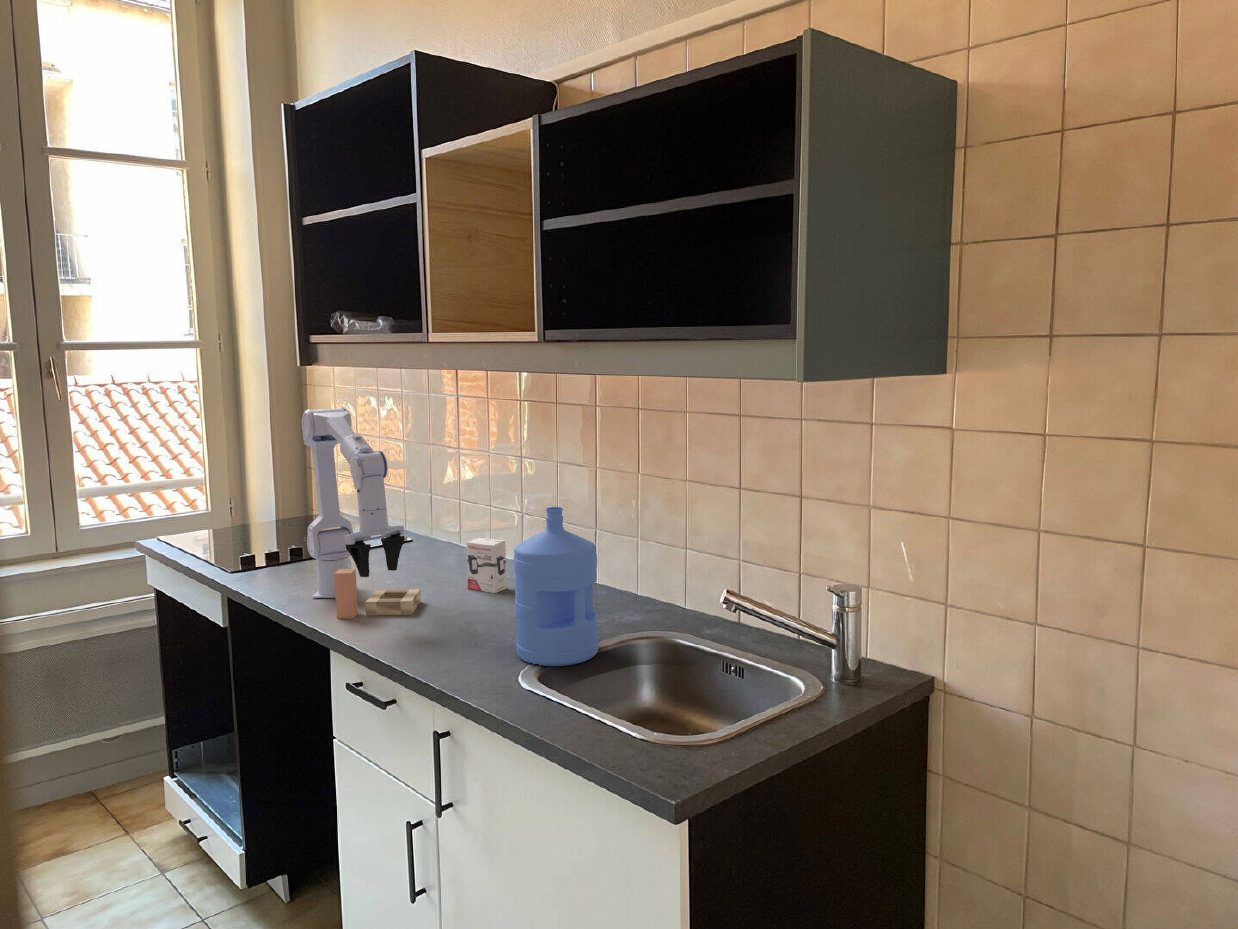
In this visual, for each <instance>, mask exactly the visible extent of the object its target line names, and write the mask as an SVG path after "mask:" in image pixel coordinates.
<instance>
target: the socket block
mask: <svg viewBox="0 0 1238 929" xmlns="http://www.w3.org/2000/svg"><path fill="white" fill-rule="evenodd" d="M421 602H422V596H421V588H402V589H401V588H400V589H399V588H397V589H394V588H393V589H392V588H390V589H376V590H374V592H373V593H372V594H371V595H370V596H369V597H368V598H367V600H366V601H365V603H364V605H365V616H403V615H404V616H405V615H406V616H408V615H410V616H411V615H413V614H414V612H415V611H416V610H417V608H418V607H419V605H420V603H421Z"/></svg>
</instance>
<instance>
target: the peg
mask: <svg viewBox="0 0 1238 929" xmlns="http://www.w3.org/2000/svg"><path fill="white" fill-rule="evenodd" d="M356 569H357V568H352V569H339V570H338V571H337V572H335V573H334V576H335V594H336V598H335V606H336V607H335V608H336V609H335V610H336V619H355V617H356V616H357V615H358V614H359V609H358V608H359V606H358V592H357V591H358V588H357V586H356V585H357V573H356V572H357V570H356Z"/></svg>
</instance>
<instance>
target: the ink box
mask: <svg viewBox="0 0 1238 929" xmlns="http://www.w3.org/2000/svg"><path fill="white" fill-rule="evenodd" d="M506 550H507V549H506V541H505V540H503V539H502V540H501V539H496V538H495V539H493V538H486V537H484V538H483V537H477V538H473V539H472V540H471V539H470V540H468V541H467V542H466V564H467V566H466V568H467V569H466V570H467V575H466V577H467V589H468V590H473V591H479V592H480V591H481V592H485V593H486V592H487V593H493V594H497V593H499V592H501V591H504V590H507V589H508V587H507V586H508V583H507V558H506V557H507V556H506V555H507V553H506Z"/></svg>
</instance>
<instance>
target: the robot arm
mask: <svg viewBox="0 0 1238 929" xmlns="http://www.w3.org/2000/svg"><path fill="white" fill-rule="evenodd" d="M352 424H353V423H352V415H351V412H350V411H349V410H348V409H347V407H345V406H344V407H339V408H324V409H323V408H322V409H321V408H320V409H305V410H304V412H303V414H302V418H301V430H302V431H301V432H302V438H303V443H304V445H305V446H308V447H310V450H311V455H312V462H313V463H312V464H313V472H314V473H313V474H314V482H315V493H316V503H317V514H318V516H317V517H316V518H315V519H314V520H313V521H312V522H311V523H310V524H309V525H308V526H307V530H306V531H307V538H306V546H307V550H308V553H309V555H310V556H311V557H312V558H313V559H315V562H316V565H315V566H316V580H317V582H316V584H317V591H316V592H315V593H314V594H313V595H312V599H327V598H328V599H329V598H330V599H332V598H333V599H336V594H335V576H334V573H335V572H337V571H338V570H339V569H353V567H352V561H351V558H352V560H353V562H354V564H355V566H356V569H357V571H358V574H359V578H369V577H370V550H371V546H372V544H370V543H366V542H369V541H374V540H379V539H380V542H381V544H382V547H383V550H384V554H385V562H386V567H387V570H388V571H393V572H395V571H397V570H398V564H399V558H400V554H401V550H402V548H403V545H404V543H405V541H406V537H405V526H404V525H394V526H393V525H392V526H389V518H388V508H387V498H386V496H387V495H386V487H385V478H386V477H387V475H388V469H389V468H388V467H389V465H388V460H387V457H386V454H384V452H383V451H382V450H374V449H373V447H371V446H370V443H368V442H367V440H366V439H365V438H364V436H362V435H361V434H356V433H355V432H354V430H353V428H352ZM338 444H340V446H339V450H340V453H341V455H342V456H343V458H345V460H346V461H347V463H348V464H349V470H350V475H351V478H352V481H353V487H354V489H355V490H356V497H357V506H358V508H357V509H358V517H359V527H360V531H356V532H354V530H353V525H352V522H351V521H350V520H349V519H347V518H345V517H344V516H343V515H341V511H340V500H339V491H338V479H337V471H336V461H335V450H334V449H335V448H336V446H337V445H338ZM350 557H351V558H350ZM356 586H357V584H356Z"/></svg>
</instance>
